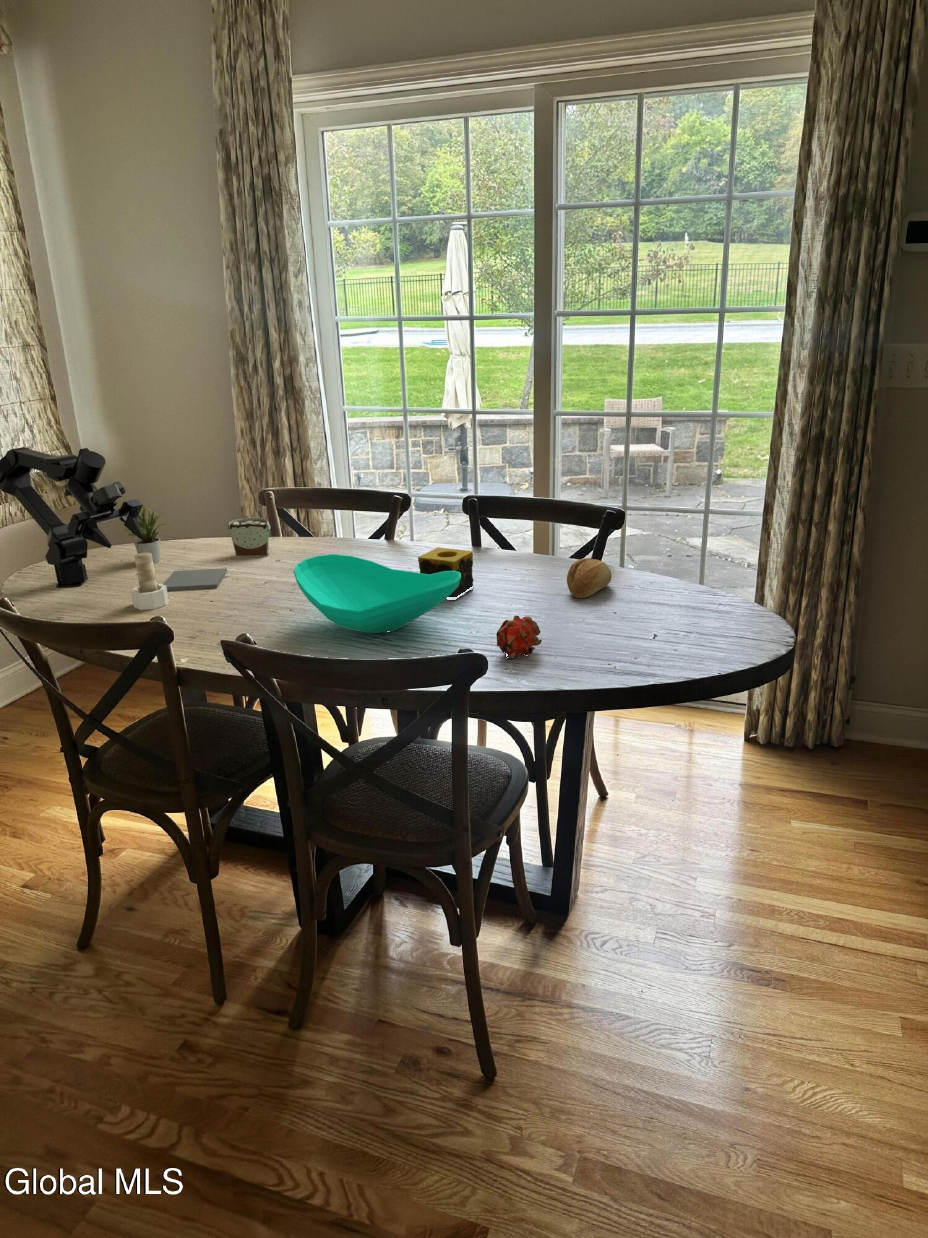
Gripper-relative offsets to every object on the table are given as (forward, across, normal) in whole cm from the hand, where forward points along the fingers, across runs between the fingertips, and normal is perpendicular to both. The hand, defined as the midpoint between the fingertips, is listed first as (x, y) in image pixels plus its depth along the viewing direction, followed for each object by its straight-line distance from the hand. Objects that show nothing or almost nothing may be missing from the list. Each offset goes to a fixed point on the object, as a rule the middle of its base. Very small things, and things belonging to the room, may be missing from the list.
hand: (126, 542), depth 209 cm
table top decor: (+60, +11, -34) cm, 70 cm away
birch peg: (+15, -2, +6) cm, 16 cm away
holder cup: (+15, -2, +6) cm, 16 cm away
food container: (+9, +43, +12) cm, 45 cm away
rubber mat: (+12, +16, +9) cm, 22 cm away
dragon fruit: (+86, +12, -57) cm, 104 cm away
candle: (+61, +38, -34) cm, 79 cm away
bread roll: (+83, +54, -54) cm, 113 cm away
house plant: (-8, +23, +27) cm, 37 cm away
